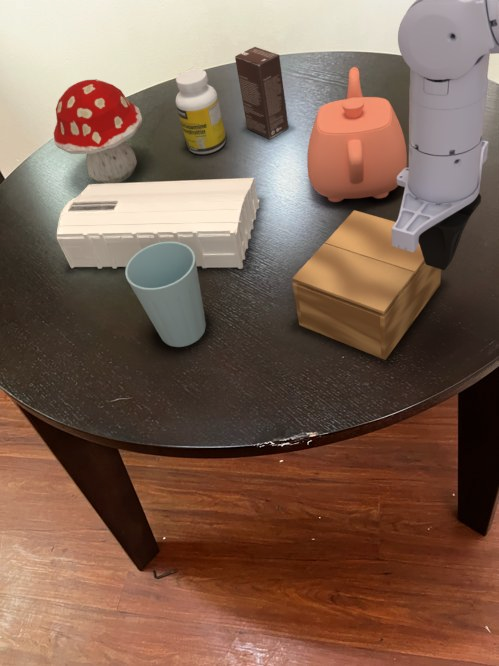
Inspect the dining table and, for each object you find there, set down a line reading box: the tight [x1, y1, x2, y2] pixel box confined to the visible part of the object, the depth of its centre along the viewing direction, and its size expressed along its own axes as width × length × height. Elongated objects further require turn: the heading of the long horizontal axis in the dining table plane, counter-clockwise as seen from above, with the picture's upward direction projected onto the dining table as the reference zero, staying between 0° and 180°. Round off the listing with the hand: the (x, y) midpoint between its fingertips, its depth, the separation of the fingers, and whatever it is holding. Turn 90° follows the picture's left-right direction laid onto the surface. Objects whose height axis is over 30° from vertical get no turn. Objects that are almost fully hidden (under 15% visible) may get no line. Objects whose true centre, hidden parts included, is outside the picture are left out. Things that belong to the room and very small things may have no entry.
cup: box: [124, 241, 207, 348], centre depth 73 cm, size 8×8×10 cm
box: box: [234, 46, 289, 140], centre depth 101 cm, size 6×4×12 cm
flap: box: [324, 209, 425, 274], centre depth 71 cm, size 6×11×1 cm, turn 53°
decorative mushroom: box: [53, 78, 143, 184], centre depth 98 cm, size 14×14×15 cm
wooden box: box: [291, 242, 442, 361], centre depth 72 cm, size 13×11×7 cm
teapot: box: [306, 66, 408, 203], centre depth 87 cm, size 13×20×12 cm, turn 174°
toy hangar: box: [56, 177, 260, 270], centre depth 88 cm, size 25×15×7 cm, turn 80°
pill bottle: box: [175, 68, 227, 155], centre depth 100 cm, size 6×6×12 cm
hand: (438, 263), depth 62 cm, fingers closed
